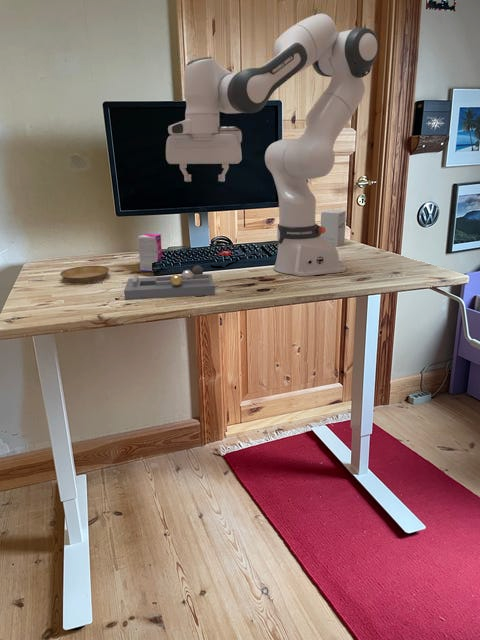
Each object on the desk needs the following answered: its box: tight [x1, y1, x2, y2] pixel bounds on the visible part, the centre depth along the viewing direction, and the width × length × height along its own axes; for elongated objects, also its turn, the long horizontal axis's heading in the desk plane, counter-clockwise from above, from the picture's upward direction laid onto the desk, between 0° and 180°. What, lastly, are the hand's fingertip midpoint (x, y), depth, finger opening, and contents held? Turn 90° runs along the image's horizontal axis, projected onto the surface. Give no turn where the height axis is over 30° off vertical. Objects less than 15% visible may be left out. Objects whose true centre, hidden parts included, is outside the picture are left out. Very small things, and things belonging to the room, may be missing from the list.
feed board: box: [123, 273, 215, 301], centre depth 140 cm, size 24×12×4 cm, turn 96°
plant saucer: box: [59, 265, 110, 285], centre depth 155 cm, size 15×15×3 cm
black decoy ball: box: [191, 264, 204, 275], centre depth 144 cm, size 3×3×3 cm
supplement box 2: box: [320, 209, 347, 248], centre depth 190 cm, size 7×7×13 cm
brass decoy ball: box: [170, 274, 182, 286], centre depth 136 cm, size 3×3×3 cm
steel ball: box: [181, 269, 193, 280], centre depth 140 cm, size 3×3×3 cm
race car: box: [218, 250, 233, 256], centre depth 168 cm, size 13×5×4 cm, turn 151°
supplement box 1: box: [137, 233, 163, 273], centre depth 161 cm, size 6×6×12 cm
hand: (204, 181), depth 136 cm, fingers open, 8 cm apart
